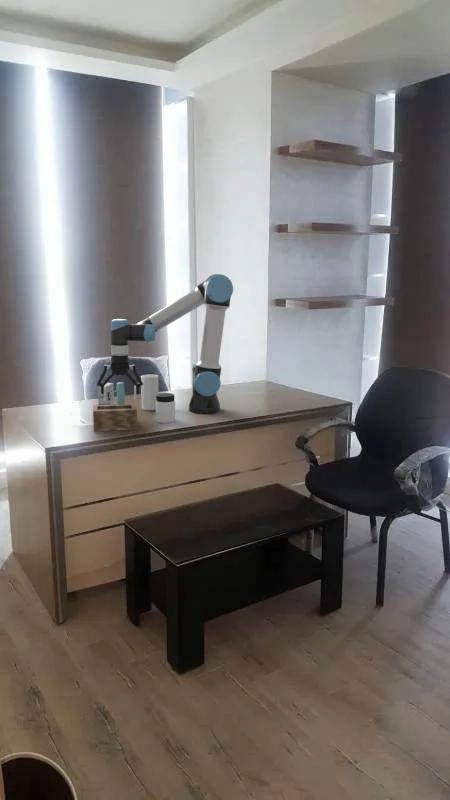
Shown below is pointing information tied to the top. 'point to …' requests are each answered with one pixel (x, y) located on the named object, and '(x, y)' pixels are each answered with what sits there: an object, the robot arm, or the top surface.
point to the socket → (115, 417)
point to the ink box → (108, 395)
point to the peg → (120, 393)
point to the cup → (149, 391)
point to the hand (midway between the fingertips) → (120, 400)
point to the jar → (165, 408)
